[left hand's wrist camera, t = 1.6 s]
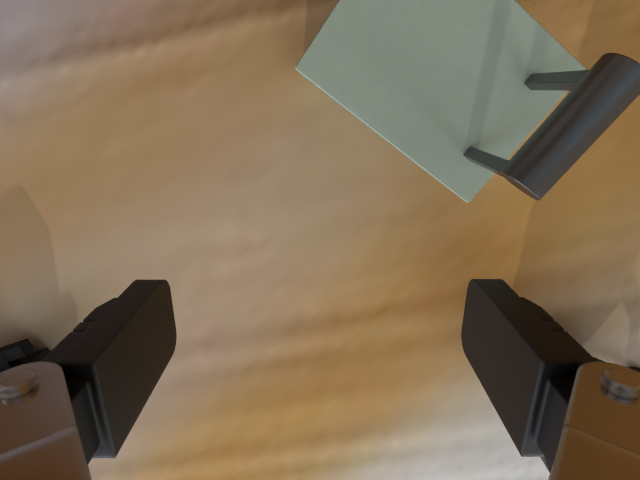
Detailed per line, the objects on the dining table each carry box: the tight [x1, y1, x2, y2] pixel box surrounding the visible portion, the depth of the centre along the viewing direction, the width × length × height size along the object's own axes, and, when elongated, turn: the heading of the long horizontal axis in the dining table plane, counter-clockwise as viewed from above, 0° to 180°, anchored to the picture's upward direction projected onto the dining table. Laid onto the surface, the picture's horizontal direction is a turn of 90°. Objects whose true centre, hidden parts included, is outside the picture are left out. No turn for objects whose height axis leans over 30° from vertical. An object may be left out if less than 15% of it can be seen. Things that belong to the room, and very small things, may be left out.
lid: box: [295, 0, 640, 203], centre depth 20 cm, size 14×10×9 cm
